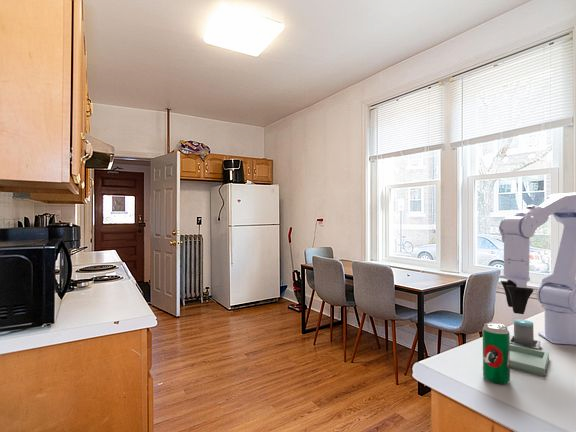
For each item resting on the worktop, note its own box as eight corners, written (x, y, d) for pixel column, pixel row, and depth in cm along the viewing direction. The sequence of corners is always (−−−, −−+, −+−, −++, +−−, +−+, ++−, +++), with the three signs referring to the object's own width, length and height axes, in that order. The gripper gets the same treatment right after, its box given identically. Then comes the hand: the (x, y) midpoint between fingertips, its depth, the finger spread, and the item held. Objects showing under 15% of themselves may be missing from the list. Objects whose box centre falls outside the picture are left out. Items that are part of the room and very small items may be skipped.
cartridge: (528, 344, 91) (528, 319, 92) (537, 350, 87) (536, 324, 87) (511, 343, 92) (510, 318, 93) (518, 349, 88) (518, 323, 88)
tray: (493, 346, 90) (493, 340, 90) (548, 359, 82) (548, 352, 82) (483, 361, 81) (483, 353, 81) (544, 376, 73) (544, 368, 73)
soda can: (514, 386, 69) (513, 330, 69) (488, 384, 70) (487, 328, 70) (503, 375, 74) (503, 322, 74) (479, 373, 75) (478, 321, 75)
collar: (511, 340, 95) (511, 335, 95) (540, 346, 90) (540, 341, 90) (507, 347, 90) (507, 341, 90) (537, 354, 85) (537, 348, 85)
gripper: (495, 256, 96) (494, 302, 96) (503, 261, 83) (502, 314, 83) (523, 258, 93) (523, 305, 93) (537, 263, 80) (536, 318, 80)
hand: (515, 310), depth 88 cm, fingers open, 7 cm apart
